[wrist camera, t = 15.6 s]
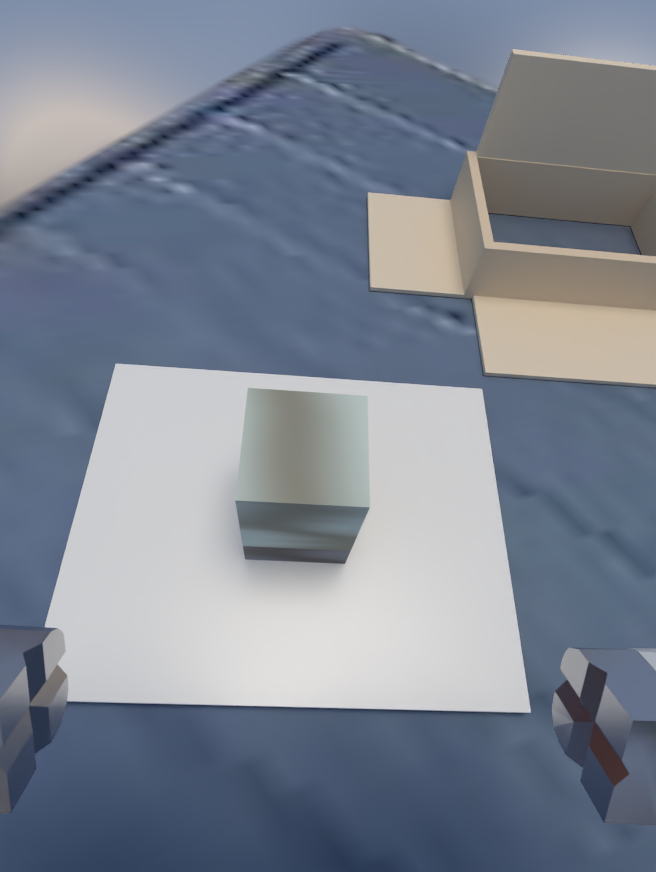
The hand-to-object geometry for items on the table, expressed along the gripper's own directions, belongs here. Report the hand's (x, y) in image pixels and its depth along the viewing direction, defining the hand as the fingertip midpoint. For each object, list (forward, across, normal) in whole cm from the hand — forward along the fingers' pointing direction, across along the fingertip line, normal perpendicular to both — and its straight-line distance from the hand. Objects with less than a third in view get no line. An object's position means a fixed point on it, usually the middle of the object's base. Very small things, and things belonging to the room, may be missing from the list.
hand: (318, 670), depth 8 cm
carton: (+28, -17, -7) cm, 33 cm away
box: (+15, 0, +4) cm, 16 cm away
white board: (+16, 0, +5) cm, 17 cm away
